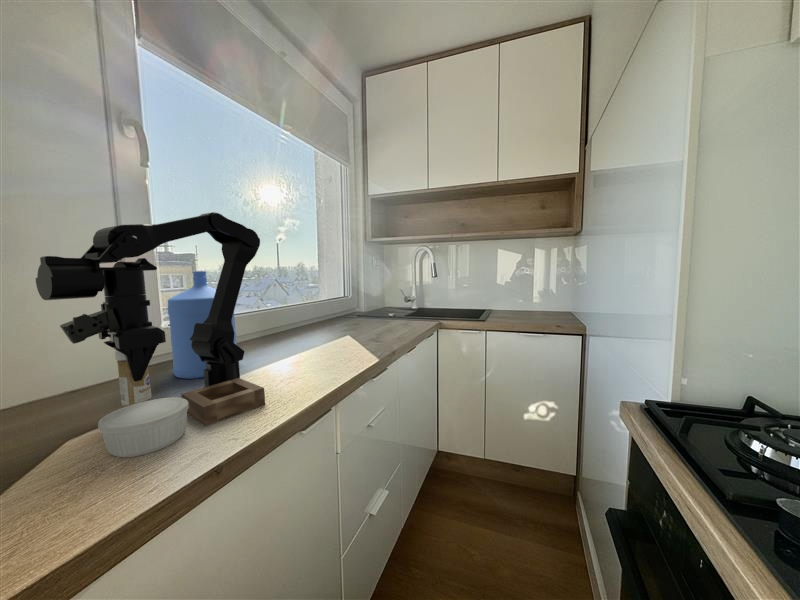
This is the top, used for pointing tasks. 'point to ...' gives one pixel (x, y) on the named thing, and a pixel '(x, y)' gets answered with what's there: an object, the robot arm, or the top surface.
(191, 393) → the socket block
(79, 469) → the top surface
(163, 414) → the ramekin
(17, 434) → the top surface
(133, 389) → the sprinkles bottle
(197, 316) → the water jug
